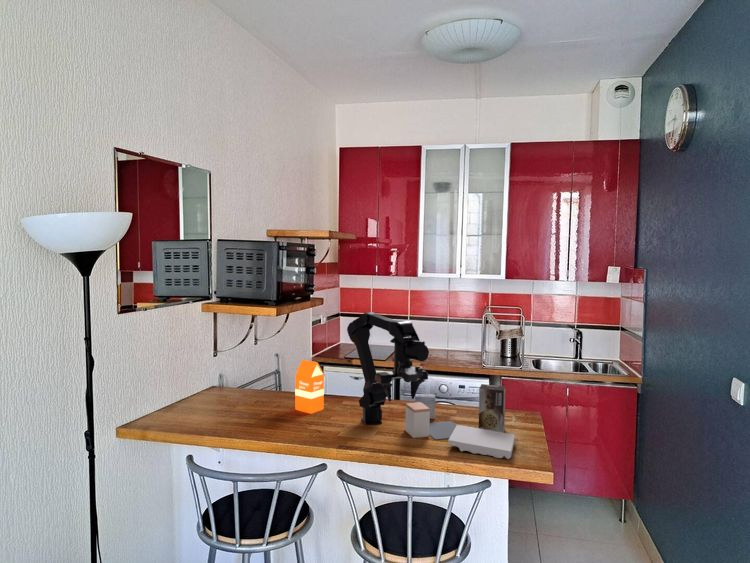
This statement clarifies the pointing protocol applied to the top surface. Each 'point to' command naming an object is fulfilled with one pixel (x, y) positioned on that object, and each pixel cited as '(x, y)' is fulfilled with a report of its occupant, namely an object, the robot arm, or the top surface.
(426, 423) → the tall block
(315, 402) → the orange juice
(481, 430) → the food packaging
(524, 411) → the top surface
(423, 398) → the medicine box
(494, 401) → the coffee box
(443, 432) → the mat
